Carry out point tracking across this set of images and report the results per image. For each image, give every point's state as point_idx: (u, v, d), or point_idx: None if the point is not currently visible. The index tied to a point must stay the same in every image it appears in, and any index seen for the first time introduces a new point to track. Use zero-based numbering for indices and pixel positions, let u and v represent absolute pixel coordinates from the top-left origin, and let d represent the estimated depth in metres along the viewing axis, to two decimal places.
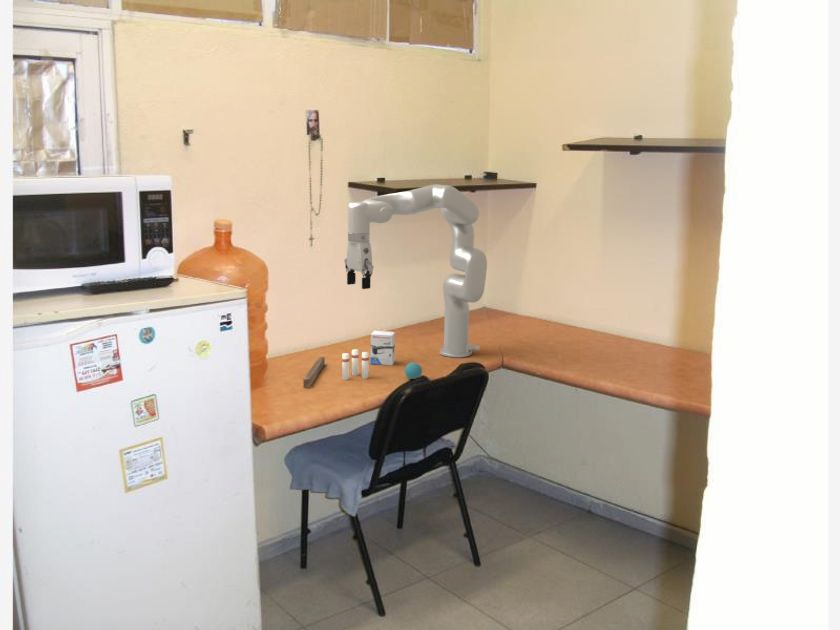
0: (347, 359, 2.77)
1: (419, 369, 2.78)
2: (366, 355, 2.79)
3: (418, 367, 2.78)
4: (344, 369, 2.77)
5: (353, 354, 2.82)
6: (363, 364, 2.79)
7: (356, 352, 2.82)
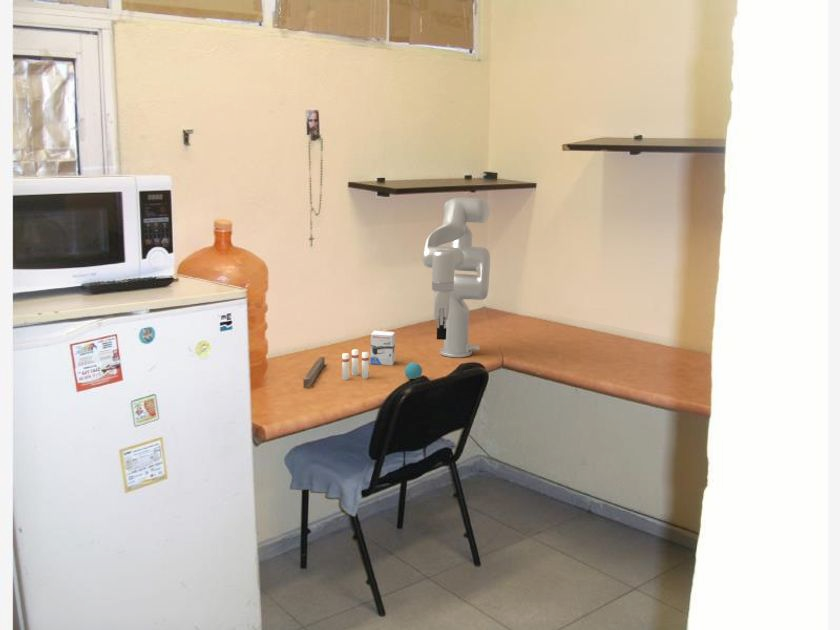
0: (347, 359, 2.77)
1: (419, 369, 2.78)
2: (366, 355, 2.79)
3: (418, 367, 2.78)
4: (344, 369, 2.77)
5: (353, 354, 2.82)
6: (363, 364, 2.79)
7: (356, 352, 2.82)
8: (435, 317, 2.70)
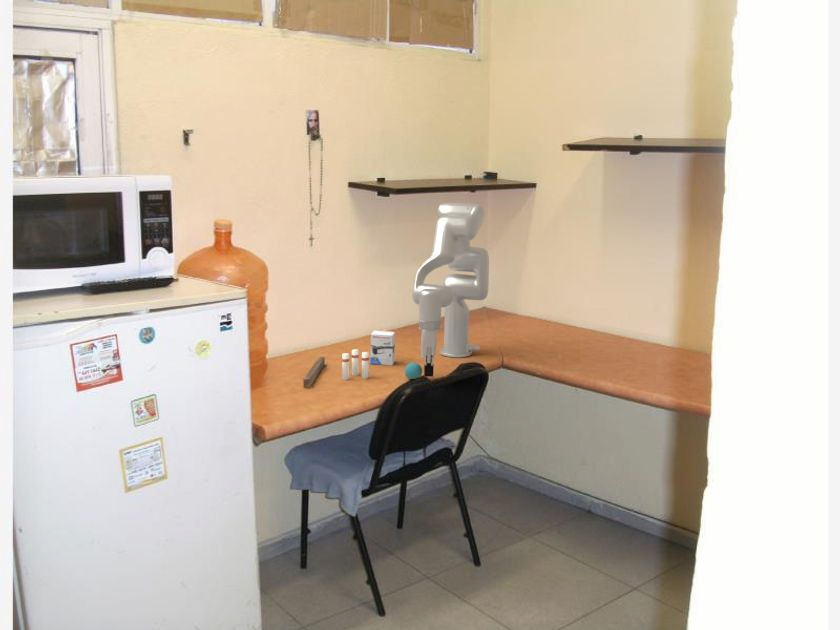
0: (347, 359, 2.77)
1: (419, 369, 2.78)
2: (366, 355, 2.79)
3: (418, 367, 2.78)
4: (344, 369, 2.77)
5: (353, 354, 2.82)
6: (363, 364, 2.79)
7: (356, 352, 2.82)
8: (422, 355, 2.73)
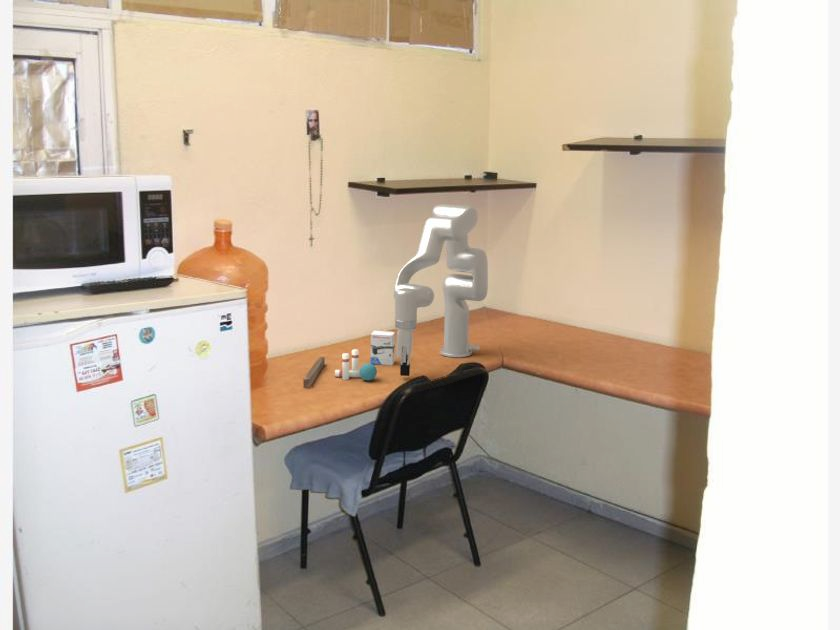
0: (347, 359, 2.77)
1: (373, 378, 2.78)
2: (336, 372, 2.80)
3: None
4: (344, 369, 2.77)
5: (353, 354, 2.82)
6: None
7: (356, 352, 2.82)
8: (398, 355, 2.74)
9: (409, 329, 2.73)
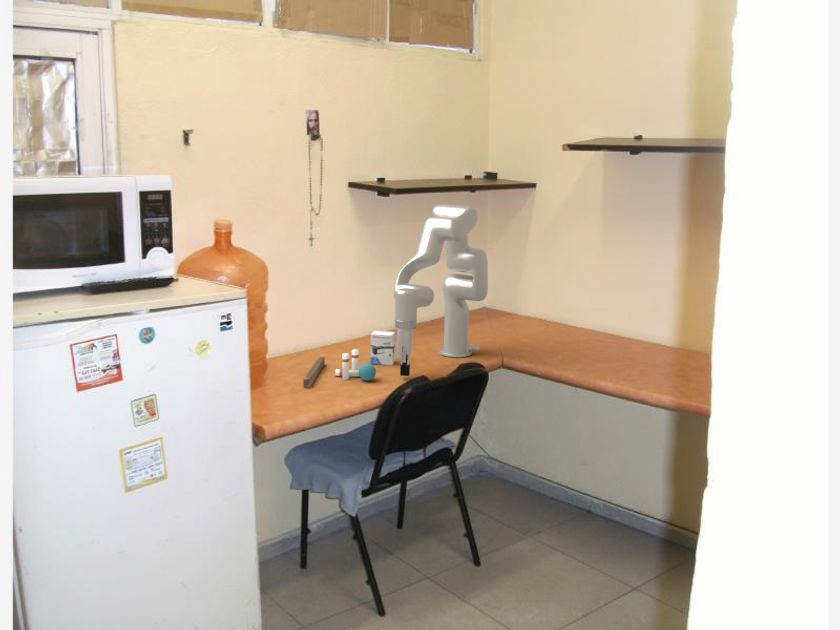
0: (347, 359, 2.77)
1: None
2: (337, 370, 2.81)
3: (374, 376, 2.78)
4: (344, 369, 2.77)
5: (353, 354, 2.82)
6: None
7: (356, 352, 2.82)
8: (398, 355, 2.74)
9: (409, 329, 2.73)
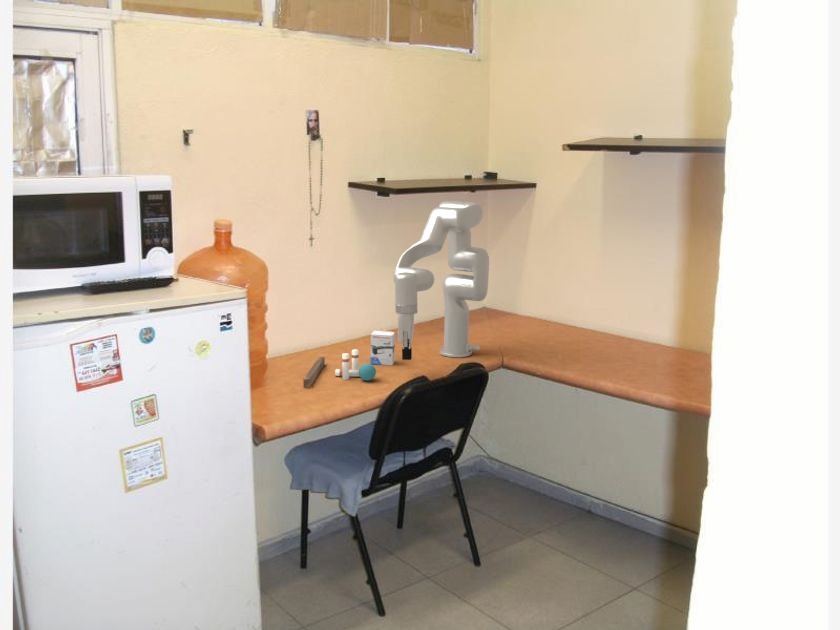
0: (347, 359, 2.77)
1: None
2: (337, 370, 2.81)
3: (374, 376, 2.78)
4: (344, 369, 2.77)
5: (353, 354, 2.82)
6: None
7: (356, 352, 2.82)
8: (399, 339, 2.73)
9: (410, 313, 2.72)
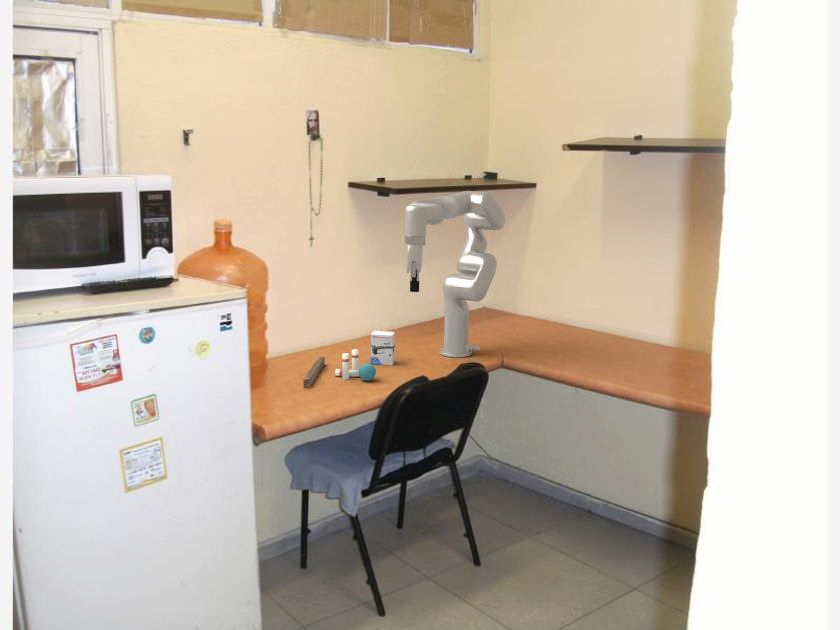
0: (347, 359, 2.77)
1: None
2: (337, 370, 2.81)
3: (374, 376, 2.78)
4: (344, 369, 2.77)
5: (353, 354, 2.82)
6: None
7: (356, 352, 2.82)
8: (408, 270, 2.79)
9: (419, 244, 2.78)
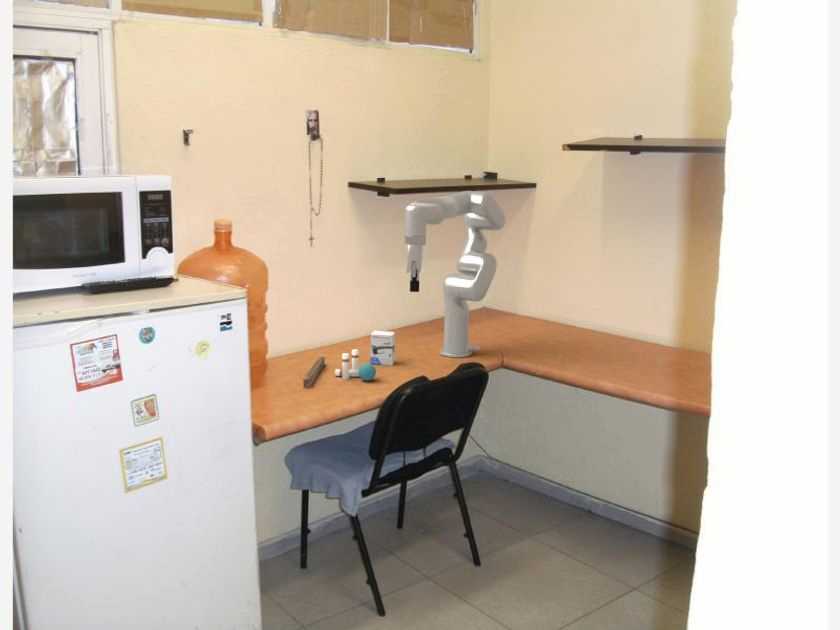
0: (347, 359, 2.77)
1: None
2: (337, 370, 2.81)
3: (374, 376, 2.78)
4: (344, 369, 2.77)
5: (353, 354, 2.82)
6: None
7: (356, 352, 2.82)
8: (408, 269, 2.79)
9: (419, 244, 2.79)
